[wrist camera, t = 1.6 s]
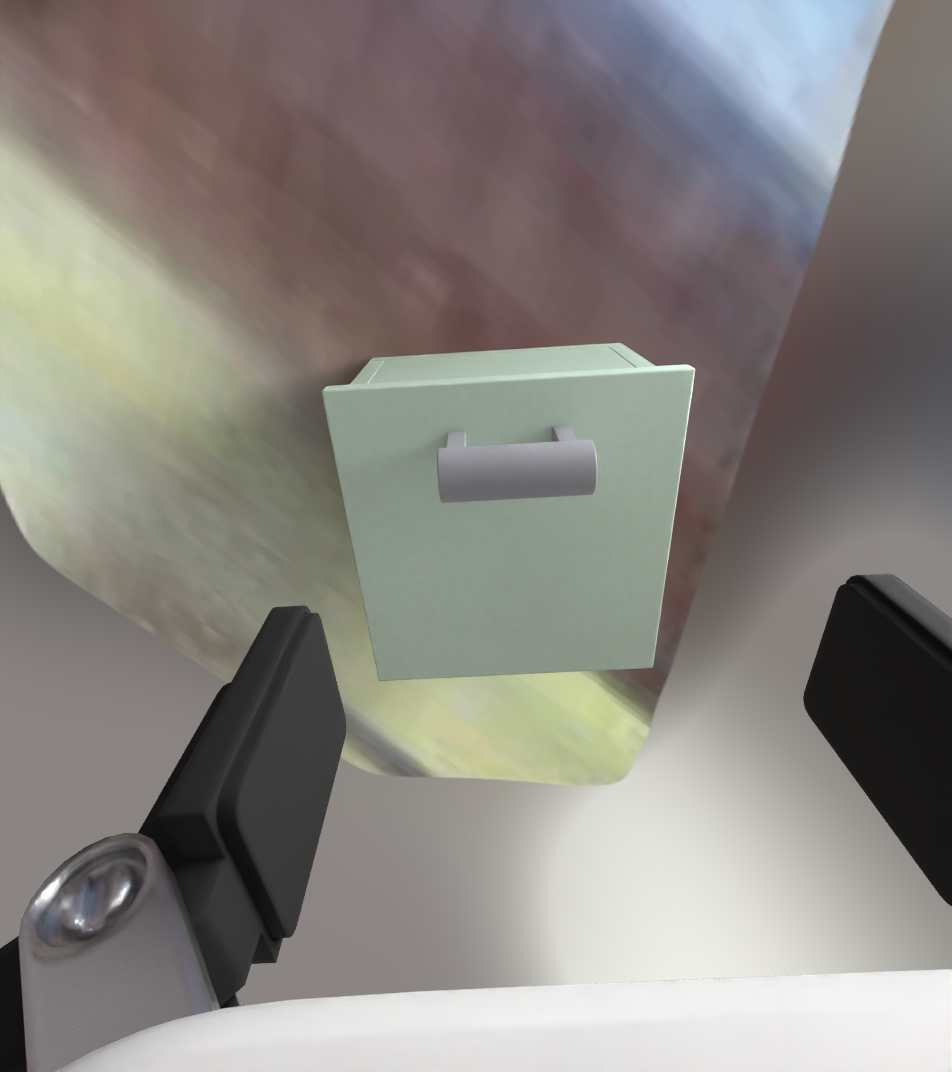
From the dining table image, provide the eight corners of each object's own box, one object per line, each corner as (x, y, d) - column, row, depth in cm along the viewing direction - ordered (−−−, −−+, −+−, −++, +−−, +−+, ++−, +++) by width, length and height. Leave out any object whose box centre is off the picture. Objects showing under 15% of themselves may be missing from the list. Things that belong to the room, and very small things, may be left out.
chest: (371, 357, 29) (330, 405, 21) (621, 342, 29) (684, 385, 20) (402, 567, 36) (380, 669, 27) (605, 556, 36) (648, 656, 27)
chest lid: (326, 385, 20) (283, 427, 16) (688, 364, 20) (753, 399, 15) (380, 670, 27) (362, 756, 23) (648, 657, 27) (684, 741, 22)
